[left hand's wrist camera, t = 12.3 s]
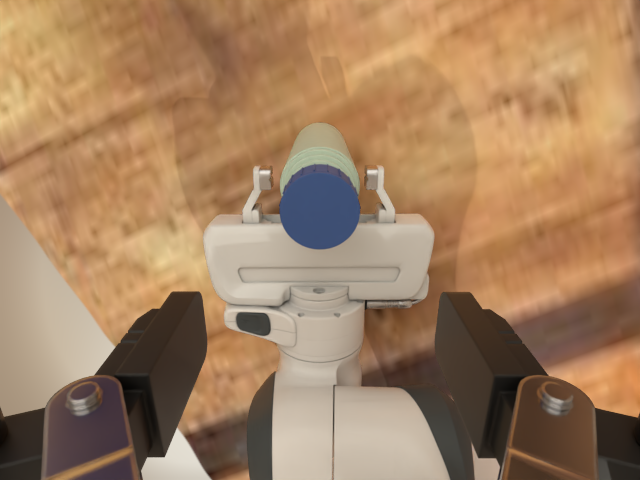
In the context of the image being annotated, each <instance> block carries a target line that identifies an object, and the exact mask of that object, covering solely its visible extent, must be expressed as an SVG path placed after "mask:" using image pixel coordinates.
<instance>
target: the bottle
mask: <svg viewBox="0 0 640 480" xmlns="http://www.w3.org/2000/svg"><path fill="white" fill-rule="evenodd" d="M314 164H326V165H327V164H328V165H330V166H333V167H336V168H337V169H340V170H341V171H342V172H344V173H345V174H346V175H347V176H349V177H350V180H351V182H352V183H353V186H354V187H356V190H357V193H358V195H359V190H360V181H359V176H358V172H357V170H356V167H355V165H354V162H353V160H352V158H351V155H350V153H349V150H348V148H347V145H346V143H345V140H344V138H343V136H342V134H341V133H340V132H339V130H338V129H336V128H335V127H334V126H332V125H330V124H327V123H321V122H320V123H313V124H310V125H308V126H306V127H305V128H303V129H302V130H301V131H300V133H299V134H298V136H297V138H296V140H295V142H294V145H293V147H292V150H291V152H290V154H289V157H288V159H287V162H286V164H285V167H284V169H283V172H282V175H281V179H280V192H281V197H282V196H283V194H282V193H283V190H284V187H285V184H286V185H287V183H288V181H289V180H290V178H291V176H292V174H293V175H294V174H295V173H296V172H297V171H299V170H300V169H302V167H303V168H304V167H307V166H310V165H314ZM357 197H358V196H357Z"/></svg>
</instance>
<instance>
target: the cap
mask: <svg viewBox="0 0 640 480" xmlns="http://www.w3.org/2000/svg"><path fill="white" fill-rule="evenodd" d="M282 194H283V196H282V198H281V201H280V204H279V206H280V219H281V223H282V225H283V228H284V229H285V231H286V233H287V234H288V235H289V236H290V237H291V238H292V239H293V240H294V241H295V242H297V243H298V244H300V245H302V246H304V247H307V248H311V249H318V250H321V249H329V248H333V247H336V246H338V245H340V244H341V243H343V242H344V241H346V240H347V239H348V238H349V237H350V236H351V235H352V234H353V232H354V231H355V229H356V227H357V225H358V222H359V218H360V209H361V207H360V204H359V201H358V197H357V196H358V193H357V190H356V187H354V186H353V183H352V182H351V180H350V177H349V176H347V175H346V174H345V173H344V172H342V171H341V170H340V169H337V168H336V167H333V166H330V165H328V164H327V165H326V164H314V165H310V166H307V167H304V168H303V167H302V169H300V170H299V171H297V172H296V173H295V174H294V175H293V174H292V176H291V178H290V180H289V181H288V183H287V185H286V184H285V187H284V190H283V193H282Z"/></svg>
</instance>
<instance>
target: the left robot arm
mask: <svg viewBox="0 0 640 480" xmlns="http://www.w3.org/2000/svg"><path fill="white" fill-rule="evenodd" d="M206 352H207V333H206V325H205V316H204V308H203V300H202V296H201V293H200V292H172V293H171V294H170V295H169V296H168V298H167V299H166V301H165V302H164V304H163V305H162V306H161V308H160V309H151V310H150V311H148V312H147V313H145V314H144V315H142V316H141V317H139V318H138V319H137V320H136V321H135V323H134V324H133V325H132V327H131V328H130V329H129V330H128V333H126V334H125V336H124V337H123V338H122V340H121V343H119V344H118V345H117V346H116V348H115V349H114V350H113V352H112V353H111V354H110V355H109V357H108V358H107V359H106V361H105V362H104V363H103V365H102V366H101V367H100V368H99V370H98V371H97V372H96V374H95V375H94V376H89V377H86V378H82V379H79V380H77V381H74V382H72V383H70V384H68V385H66V386H65V387H63V388H62V389H60V390H59V391H58V392H57V393H55V394H54V395H53V396H52V397H51V399H50V400H49V401H48V403H47V405H46V407H45V408H42V409H38V410H33V411H29V412H25V413H20V414H15V415H11V416H6V417H4V416H3V414H2V411H1V408H0V480H143V478H142V473H141V469H142V467H143V465H144V463H145V461H146V459H147V457H165V455H166V453H167V450H168V448H169V445H170V443H171V441H172V438H173V436H174V433H175V431H176V428H177V426H178V424H179V421H180V419H181V416H182V414H183V411H184V409H185V407H186V404H187V402H188V399H189V397H190V394H191V392H192V390H193V387H194V385H195V382H196V380H197V377H198V375H199V373H200V370H201V368H202V365H203V363H204V360H205V357H206ZM435 352H436V357H437V361H438V363H439V366H440V368H441V370H442V373H443V375H444V378H445V380H446V382H447V385H448V387H449V390H450V392H451V394H452V397H453V399H454V402H455V404H456V406H457V409H458V411H459V414H460V416H461V418H462V421H463V423H464V425H465V428H466V430H467V433H468V435H469V437H470V440H471V442H472V445H473V447H474V449H475V452H476V454H477V457H478V458H496V460H497V462H498V464H499V466H500V469H499V473H498V478H497V480H640V414H639V416H638V418H636V417H632V416H627V415H623V414H619V413H614V412H610V411H605V410H601V409H597V408H595V407H594V405H593V403H592V401H591V400H590V399H589V397H588V396H587V395H586V394H585V393H583V392H582V391H581V390H580V389H578V388H577V387H575V386H574V385H572V384H570V383H568V382H566V381H563V380H561V379H558V378H555V377H551V376H548V374H547V373H546V372H545V371H544V369H543V368H542V367H541V365H540V364H539V363H538V361H537V360H536V359H535V358H534V356H533V355H532V354H531V352H530V351H529V350H528V348H527V347H526V346H525V345H524V344H522V341H521V339H520V338H519V337H518V336H517V334H515V333H514V330H513V329H512V328H511V326H510V325H509V324H508V323H507V321H506V320H505V319H504V318H502V317H501V316H499V315H498V314H496V313H495V312H493V311H492V310H490V309H482V308H481V306H480V305H479V304H478V302H477V301H476V299H475V298H474V296H473V295H472V294H471V293H470V292H443V293H442V294H441V296H440V301H439V309H438V318H437V326H436V334H435Z"/></svg>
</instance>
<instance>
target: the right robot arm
mask: <svg viewBox="0 0 640 480" xmlns="http://www.w3.org/2000/svg"><path fill="white" fill-rule="evenodd" d="M272 173H273V168H272V166H255V167H254V168H253V181H254V189H253V191H252V192H251V194H250V196H249V198H248V200H247V202H246V204H245V206H244V208H243V210H242V211H243V214H220V215H217V216H216V217H215V218H214V219H213V220H212V221H211V222H210V223H209V224H208V226H207V227H206V229H205V231H204V234H203V244H204V251H205V257H206V262H207V267H208V271H209V275H210V278H211V282H212V285H213V287H214V290H215V292H216V293H217V295H218V296H219V297H220V298H221V299H222V300H224V301H225V302H226V306H225V311H224V322H225V325H226V326H227V327H228V328H229V329H232V330H235V331H238V332H242V333H246V334H250V335H253V336H257V337H260V338H263V339H266V340H269V341H272V342H275V343H276V344H277V347H278V350H279V353H280V360H279V363H278V368H277V372H274V373H272V374H271V375H270V376H269V377H268V379H267V380H266V381H265V382H264V383H263V385H262V386H261V387H260V389H259V390H258V391H257V392H256V394H255V396H254V398H253V400H252V403H251V406H250V410H249V415H248V422H247V452H248V465H249V476H250V480H332V464H333V457H334V471H333V480H497V478H498V473H499V469H500V466H499V464H498V462H497V460H496V458H478V457H477V454H476V452H475V449H474V447H473V445H472V442H471V440H470V437H469V435H468V433H467V430H466V428H465V425H464V423H463V421H462V418H461V416H460V414H459V411H458V409H457V406H456V404H455V402H454V401H453V400H452V399H451V398H449V397H448V396H447V395H446V394H445V393H443V392H442V391H441V390H439V389H438V388H437V387H435V386H434V385H432V384H420V385H404V386H395V387H361V382H362V368H361V363H360V360H359V353H360V350H361V348H362V345H363V338H364V315H365V310H366V309H384V308H385V309H386V308H398V309H407V308H411V307H412V305H413V304H417V303H419V302H421V301H422V300H423V299H425V298H426V296H427V293H428V287H429V273H428V267H429V263H430V260H431V255H432V250H433V245H434V231H433V229H432V227H431V225H430V224H429V223H428V222H427V220H426V219H425V218H424V217H423V216H422V215H420V214H395V208H394V206H393V204H392V203H391V201H390V199H389V197H388V195H387V193H386V191H385V189H384V188H383V186H384V167H383V166H382V165H369V166H365V174H366V176H365V177H364V185H365V188H366V190H376V192H377V194H378V195H379V197H380V199H381V201H382V203H377V204H376V212H375V214H360V218H359V222H358V225H357V227H356V229H355V231H354V232H353V234H352V235H351V236H350V237H349V238H348V239H347V240H346V241H344V242H343V243H341V244H340V245H338V246H336V247H333V248H329V249H321V250H318V249H311V248H307V247H304V246H302V245H300V244H298V243H297V242H295V241H294V240H293V239H292V238H291V237H290V236H289V235H288V234H287V233H286V231H285V229H284V228H283V225H282V223H281V219H280V214H262V204H261V203H256V204H255V202H256V200H257V199H258V197H259V195H260V193H261V191H262V190H271V189H272V187H273V177H272ZM411 299H415V300H411Z"/></svg>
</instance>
